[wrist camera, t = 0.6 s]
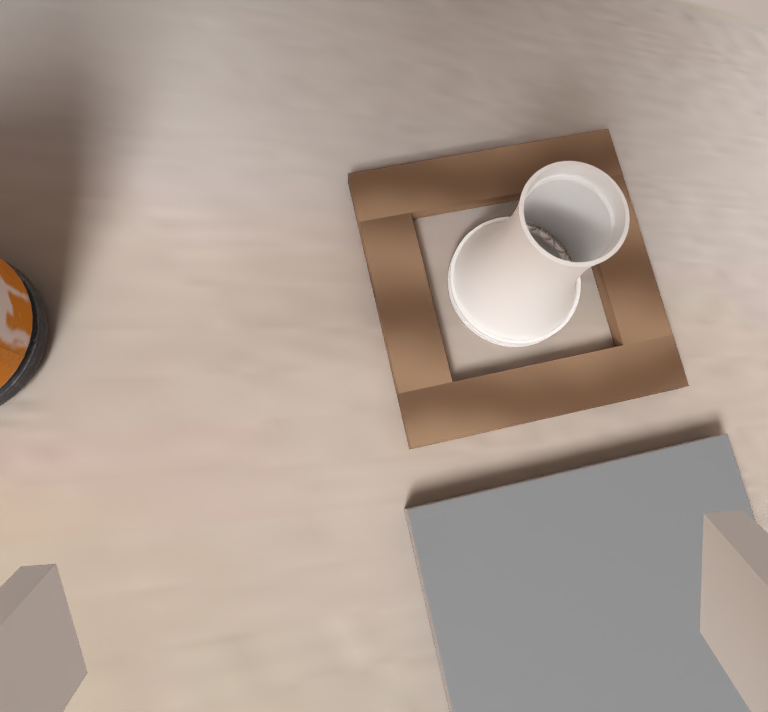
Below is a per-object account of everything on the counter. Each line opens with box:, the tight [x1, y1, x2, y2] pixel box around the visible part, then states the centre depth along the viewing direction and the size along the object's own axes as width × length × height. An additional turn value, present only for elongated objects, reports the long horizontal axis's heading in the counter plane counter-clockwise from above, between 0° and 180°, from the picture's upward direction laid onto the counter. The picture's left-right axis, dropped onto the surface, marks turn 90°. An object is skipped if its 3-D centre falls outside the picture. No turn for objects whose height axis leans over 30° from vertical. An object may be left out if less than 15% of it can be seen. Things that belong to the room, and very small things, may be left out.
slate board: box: [404, 434, 755, 712], centre depth 33 cm, size 18×18×2 cm
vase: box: [447, 161, 630, 347], centre depth 32 cm, size 8×8×10 cm
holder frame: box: [348, 129, 689, 449], centre depth 36 cm, size 16×16×1 cm
